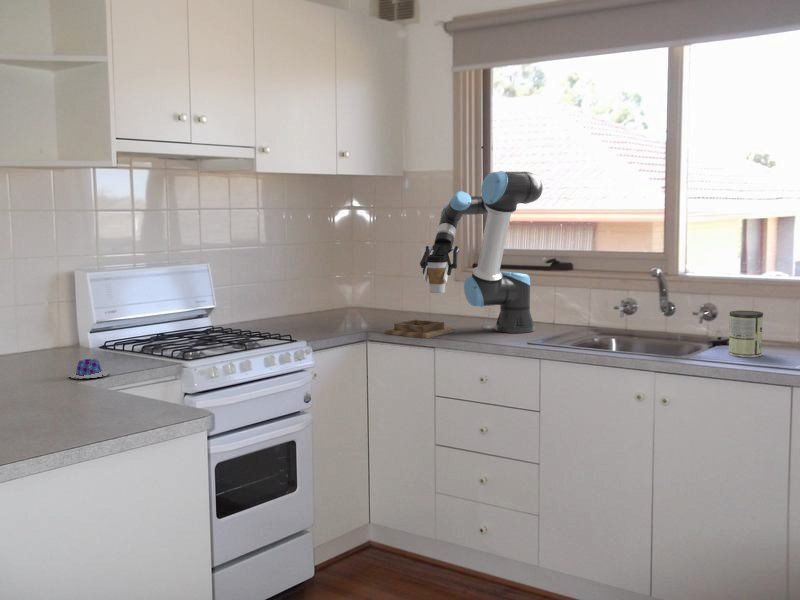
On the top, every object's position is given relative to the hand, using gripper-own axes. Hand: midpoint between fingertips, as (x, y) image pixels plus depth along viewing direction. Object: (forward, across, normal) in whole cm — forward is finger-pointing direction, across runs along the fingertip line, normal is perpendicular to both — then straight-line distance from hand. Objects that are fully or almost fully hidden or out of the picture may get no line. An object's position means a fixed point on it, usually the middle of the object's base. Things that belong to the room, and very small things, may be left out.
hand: (434, 280), depth 350 cm
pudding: (+95, +75, +71) cm, 140 cm away
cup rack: (+20, +4, -8) cm, 22 cm away
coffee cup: (+1, 0, -6) cm, 6 cm away
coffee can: (+33, -114, +5) cm, 119 cm away
